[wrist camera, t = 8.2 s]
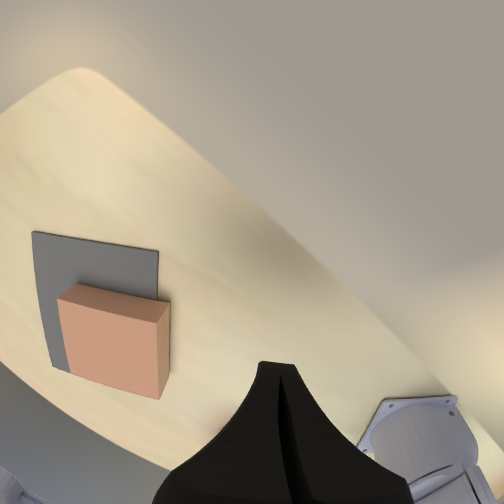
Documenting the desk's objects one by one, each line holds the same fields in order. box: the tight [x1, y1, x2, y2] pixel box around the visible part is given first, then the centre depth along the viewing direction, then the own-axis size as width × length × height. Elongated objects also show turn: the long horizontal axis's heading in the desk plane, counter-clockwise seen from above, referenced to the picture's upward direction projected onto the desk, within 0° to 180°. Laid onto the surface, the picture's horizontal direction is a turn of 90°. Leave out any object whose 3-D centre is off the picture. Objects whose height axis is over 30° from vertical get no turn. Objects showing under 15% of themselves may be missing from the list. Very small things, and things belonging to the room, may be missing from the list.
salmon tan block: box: [57, 283, 170, 400], centre depth 21 cm, size 3×7×8 cm
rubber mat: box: [31, 231, 159, 386], centre depth 23 cm, size 12×14×1 cm
